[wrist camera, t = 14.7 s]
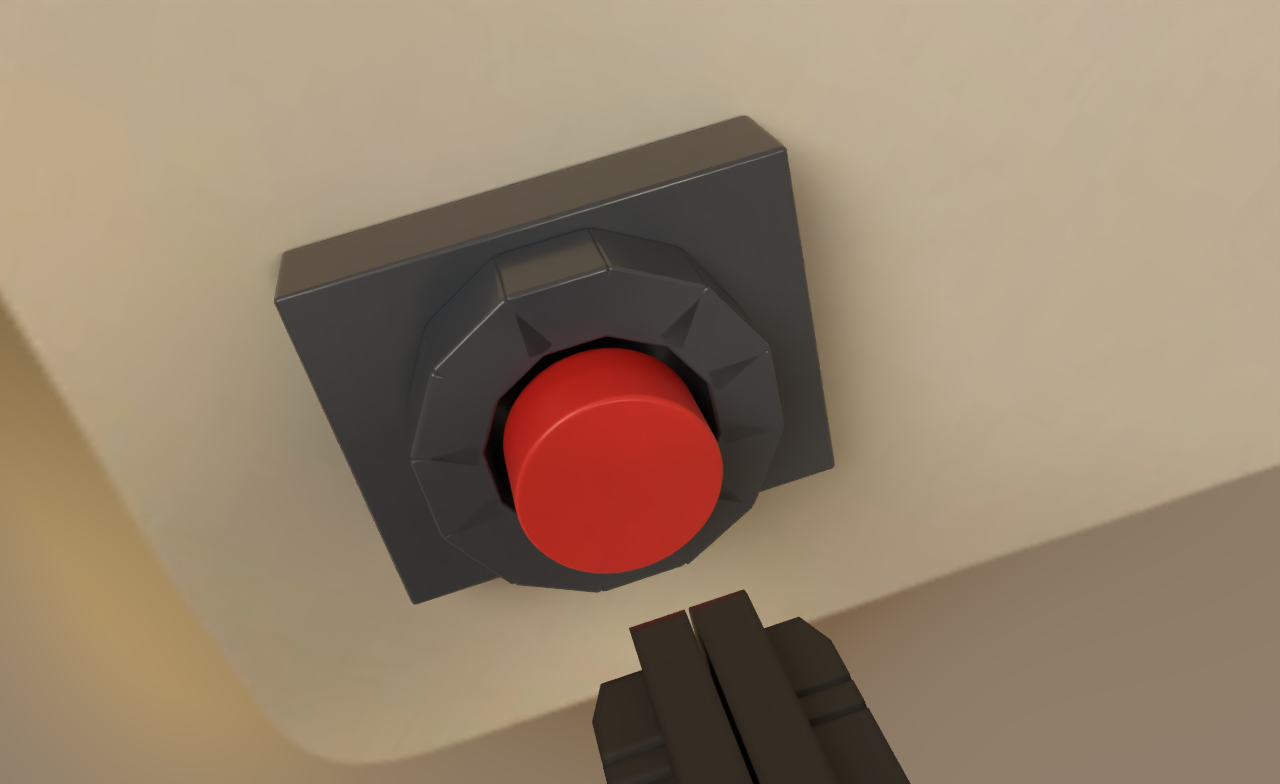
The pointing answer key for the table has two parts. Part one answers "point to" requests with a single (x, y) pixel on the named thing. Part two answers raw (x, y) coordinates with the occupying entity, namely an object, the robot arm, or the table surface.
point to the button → (610, 461)
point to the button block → (560, 340)
